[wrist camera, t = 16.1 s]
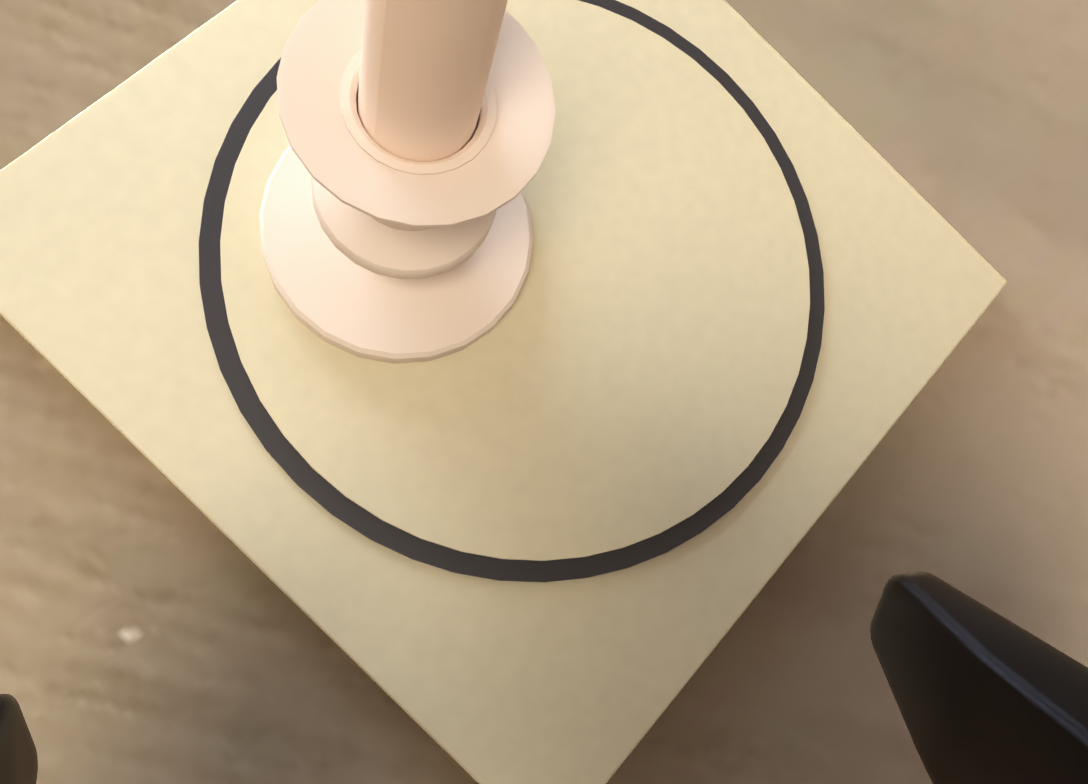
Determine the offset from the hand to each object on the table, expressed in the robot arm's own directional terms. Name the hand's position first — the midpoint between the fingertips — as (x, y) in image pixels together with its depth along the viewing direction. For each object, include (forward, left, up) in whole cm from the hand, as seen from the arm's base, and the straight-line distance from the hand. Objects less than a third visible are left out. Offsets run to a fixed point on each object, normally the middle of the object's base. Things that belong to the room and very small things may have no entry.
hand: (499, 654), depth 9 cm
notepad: (+6, +4, -8) cm, 11 cm away
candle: (+5, +6, -8) cm, 11 cm away
